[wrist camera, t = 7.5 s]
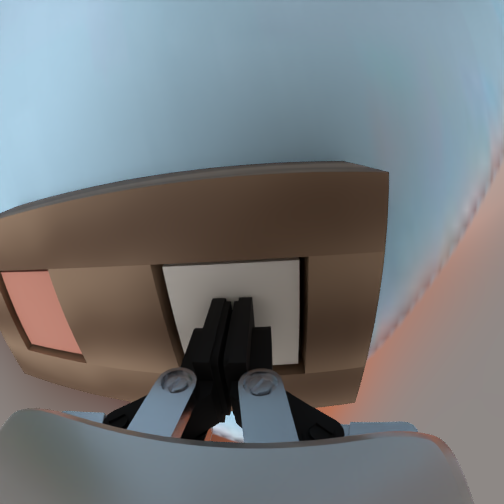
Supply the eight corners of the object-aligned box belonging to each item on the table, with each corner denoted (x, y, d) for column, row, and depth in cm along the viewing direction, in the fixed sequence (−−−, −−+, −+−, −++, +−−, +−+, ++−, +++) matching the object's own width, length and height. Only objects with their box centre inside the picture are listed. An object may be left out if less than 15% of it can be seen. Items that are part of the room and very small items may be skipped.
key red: (40, 246, 16) (0, 272, 12) (93, 241, 15) (50, 271, 11) (62, 310, 18) (31, 343, 14) (114, 314, 17) (84, 354, 13)
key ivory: (189, 232, 15) (162, 266, 11) (289, 226, 15) (299, 259, 10) (204, 315, 17) (187, 365, 13) (291, 312, 17) (298, 363, 12)
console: (16, 206, 16) (-36, 230, 10) (343, 161, 14) (388, 172, 9) (58, 332, 20) (24, 373, 15) (335, 338, 19) (354, 402, 13)
